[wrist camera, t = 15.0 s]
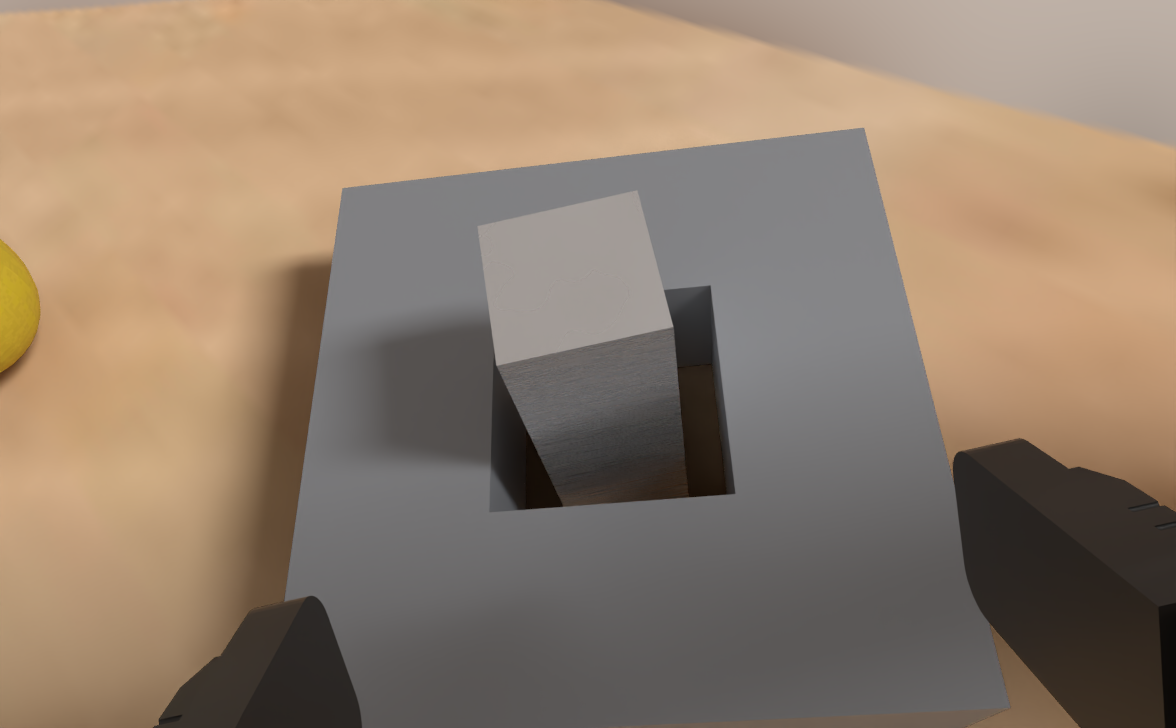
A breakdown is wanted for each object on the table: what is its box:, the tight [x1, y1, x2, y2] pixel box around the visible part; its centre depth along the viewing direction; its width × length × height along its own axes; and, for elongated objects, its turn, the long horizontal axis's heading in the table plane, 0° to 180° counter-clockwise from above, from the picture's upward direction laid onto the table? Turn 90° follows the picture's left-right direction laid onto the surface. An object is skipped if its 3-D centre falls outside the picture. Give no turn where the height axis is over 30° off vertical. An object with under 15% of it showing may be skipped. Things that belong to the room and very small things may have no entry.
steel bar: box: [477, 190, 689, 507], centre depth 22 cm, size 4×4×10 cm
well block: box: [284, 128, 1011, 728], centre depth 24 cm, size 16×16×4 cm
